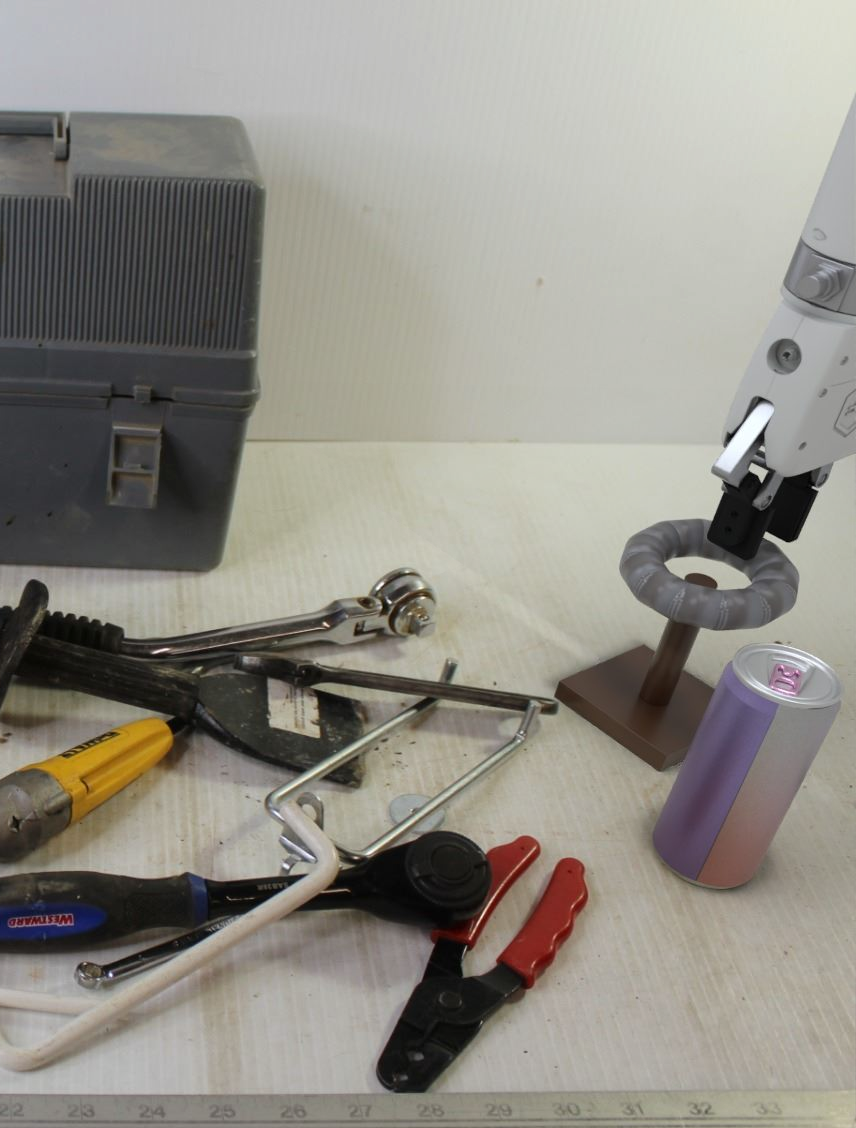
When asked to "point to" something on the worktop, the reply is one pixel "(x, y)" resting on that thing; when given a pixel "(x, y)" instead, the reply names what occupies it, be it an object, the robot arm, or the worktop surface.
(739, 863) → the beverage can
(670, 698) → the stand
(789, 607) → the ring
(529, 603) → the worktop surface
